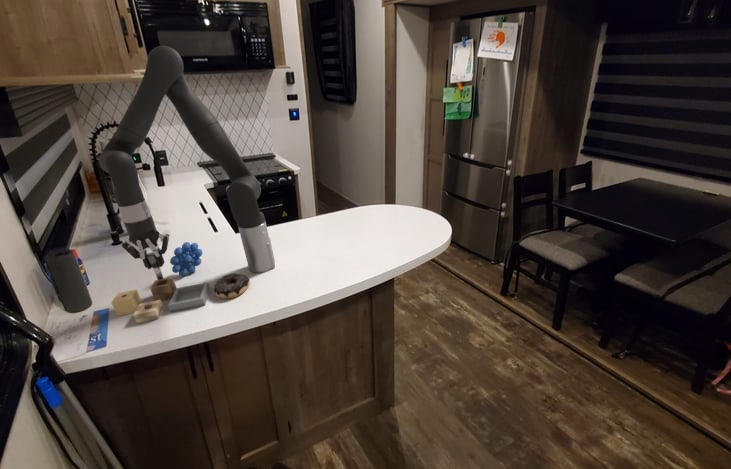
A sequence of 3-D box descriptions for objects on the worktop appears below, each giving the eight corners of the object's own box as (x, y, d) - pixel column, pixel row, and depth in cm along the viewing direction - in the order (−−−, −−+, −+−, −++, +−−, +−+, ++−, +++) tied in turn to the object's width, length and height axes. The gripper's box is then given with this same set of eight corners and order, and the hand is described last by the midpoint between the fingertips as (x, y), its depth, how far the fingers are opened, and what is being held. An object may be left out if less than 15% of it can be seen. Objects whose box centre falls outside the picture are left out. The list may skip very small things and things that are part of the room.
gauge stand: (163, 307, 117) (160, 299, 115) (158, 318, 111) (155, 310, 110) (143, 311, 116) (139, 303, 114) (136, 323, 110) (133, 314, 109)
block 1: (141, 302, 121) (136, 289, 119) (136, 312, 116) (130, 298, 114) (123, 305, 120) (117, 292, 118) (117, 315, 115) (111, 302, 113)
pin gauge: (166, 275, 122) (157, 251, 118) (163, 280, 120) (154, 255, 116) (157, 277, 122) (147, 253, 118) (154, 281, 119) (145, 257, 115)
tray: (209, 288, 125) (207, 282, 124) (205, 305, 116) (202, 298, 115) (178, 294, 123) (176, 288, 122) (171, 312, 114) (168, 305, 113)
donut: (253, 279, 128) (251, 269, 126) (244, 299, 117) (242, 288, 116) (222, 282, 128) (219, 272, 126) (210, 302, 117) (206, 291, 116)
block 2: (177, 289, 126) (172, 276, 124) (173, 298, 121) (168, 285, 119) (159, 292, 125) (155, 280, 123) (155, 301, 120) (150, 288, 118)
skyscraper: (162, 225, 184) (143, 170, 172) (153, 232, 177) (132, 175, 165) (147, 226, 185) (127, 171, 173) (138, 232, 178) (116, 176, 166)
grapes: (201, 263, 142) (193, 235, 137) (209, 268, 138) (200, 239, 133) (171, 276, 135) (160, 246, 130) (178, 282, 131) (167, 252, 126)
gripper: (165, 209, 116) (181, 257, 123) (116, 216, 114) (136, 265, 121) (158, 217, 109) (176, 268, 117) (106, 225, 107) (128, 276, 114)
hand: (155, 266), depth 119 cm, fingers closed on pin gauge, 2 cm apart
